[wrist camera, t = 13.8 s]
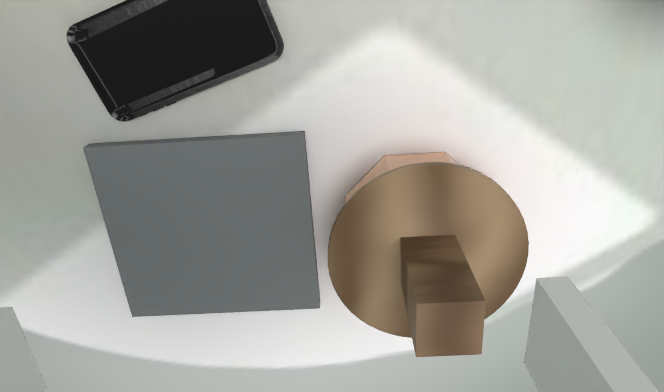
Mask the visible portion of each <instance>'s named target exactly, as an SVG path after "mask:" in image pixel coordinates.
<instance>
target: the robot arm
mask: <svg viewBox="0 0 664 392" xmlns="http://www.w3.org/2000/svg"><path fill="white" fill-rule="evenodd" d="M524 363H525V365H526V367H527V369H528V371H529V373H530V375H531V377H532V379H533V381H534V383H535V385H536V387H537V389H538V391H539V392H658V391H657V389H656V388H655V387H654V386H653V384H652V383H651V382H650V381H649V379H648V378H647V377H646V375H645V374H644V373H643V372H642V370H641V369H640V368H639V367H638V365H637V364H636V363H635V362H634V360H633V359H632V358H631V356H630V355H629V354H628V353H627V351H626V350H625V349H624V347H623V346H622V345H621V344H620V343H619V341H618V340H617V339H616V337H615V336H614V335H613V334H612V332H611V331H610V330H609V329H608V327H607V326H606V325H605V323H604V322H603V321H602V319H601V318H600V317H599V316H598V314H597V313H596V312H595V311H594V309H593V308H592V307H591V306H590V304H589V303H588V302H587V300H586V299H585V298H584V297H583V295H582V294H581V293H580V291H579V290H578V289H577V288H576V286H575V285H574V284H573V283H572V281H571V280H570V279H569V277H551V278H537V279H536V286H535V292H534V299H533V305H532V312H531V319H530V326H529V332H528V339H527V346H526V352H525V359H524ZM46 388H47V386H46V384H45V381H44V379H43V377H42V374H41V372H40V370H39V368H38V365H37V363H36V361H35V358H34V356H33V354H32V351H31V349H30V347H29V345H28V342H27V340H26V337H25V336H24V333H23V331H22V328H21V326H20V324H19V321H18V319H17V317H16V314H15V312H14V310H13V307H4V308H0V392H44V391H45V389H46Z"/></svg>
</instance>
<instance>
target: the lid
mask: <svg viewBox="0 0 664 392" xmlns="http://www.w3.org/2000/svg"><path fill="white" fill-rule="evenodd" d="M528 245H529V242H528V234H527V229H526V225H525V222H524V219H523V217H522V215H521V213H520V210H519V209H518V207H517V206H516V204H515V203H514V201H513V200H512V199H511V197H510V196H509V195H508V194H507V193H506V192H505V191H504V190H503V189H502V187H501V186H499V185H498V184H497V183H496V182H494V181H493V180H492V179H490V178H489V177H487V176H485V175H484V174H482V173H480V172H478V171H476V170H473V169H471V168H468V167H465V166H461V165H457V164H452V163H444V162H423V163H414V164H409V165H405V166H401V167H398V168H395V169H393V170H390V171H387V172H385V173H383V174H381V175H379V176H377V177H375V178H374V179H372V180H371V181H369V182H368V183H366V184H365V185H363V186H362V187H361V188H360V189H359V190H358V191H357V192H355V193H354V194H353V195H352V197H351V198H350V199H349V200H348V201H347V202H346V203H345V205H344V206H343V208H342V209H341V211H340V212H339V214H338V216H337V218H336V220H335V222H334V224H333V227H332V231H331V234H330V238H329V245H328V268H329V274H330V278H331V281H332V284H333V287H334V289H335V291H336V293H337V295H338V296H339V298H340V299H341V301H342V302H343V304H344V305H345V306H346V307H347V308H348V309H349V310H350V311H351V312H352V313H353V314H354V315H355V316H357V317H358V318H359V319H360V320H362V321H363V322H365V323H366V324H368V325H370V326H372V327H374V328H376V329H378V330H380V331H383V332H386V333H389V334H393V335H397V336H402V337H411V338H412V340H413V344H414V349H415V354H416V357H426V356H427V357H428V356H452V355H474V354H475V355H476V354H481V353H482V352H481V351H482V339H483V328H484V319H486V318H487V317H489V316H490V315H491V314H493V313H494V312H495V311H496V310H497V309H499V308H500V307H501V306H502V305H503V304H504V303H505V302H506V300H507V299H508V298H509V297H510V296H511V294H512V293H513V292H514V290H515V289H516V287H517V285H518V283H519V281H520V280H521V278H522V275H523V272H524V270H525V267H526V263H527V257H528Z"/></svg>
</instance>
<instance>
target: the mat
mask: <svg viewBox="0 0 664 392" xmlns="http://www.w3.org/2000/svg"><path fill="white" fill-rule="evenodd" d="M83 148H84V152H85V155H86V159H87V162H88V166H89V169H90V173H91V176H92V179H93V183H94V186H95V190H96V193H97V197H98V200H99V204H100V207H101V210H102V214H103V217H104V221H105V224H106V228H107V231H108V235H109V238H110V241H111V245H112V248H113V252H114V255H115V259H116V262H117V266H118V269H119V272H120V276H121V279H122V283H123V286H124V290H125V293H126V297H127V300H128V303H129V307H130V310H131V314H132V317H137V316H159V315H181V314H203V313H226V312H248V311H270V310H292V309H314V308H320V296H319V285H318V274H317V263H316V252H315V241H314V230H313V219H312V208H311V197H310V186H309V175H308V164H307V153H306V142H305V131H297V132H280V133H263V134H246V135H230V136H213V137H196V138H179V139H162V140H145V141H128V142H111V143H95V144H88V145H87V146H85V147H83Z"/></svg>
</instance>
